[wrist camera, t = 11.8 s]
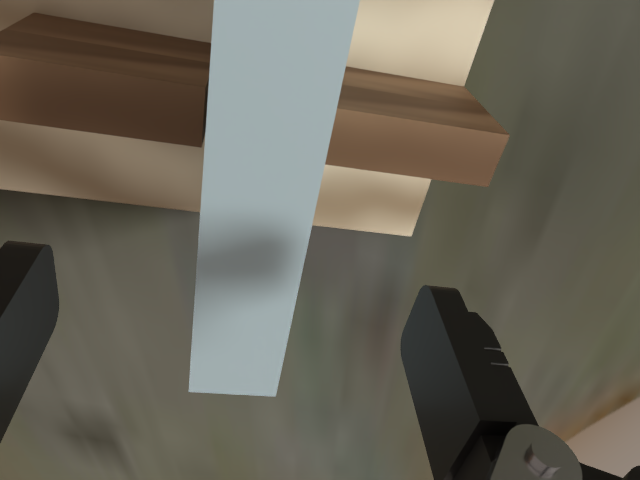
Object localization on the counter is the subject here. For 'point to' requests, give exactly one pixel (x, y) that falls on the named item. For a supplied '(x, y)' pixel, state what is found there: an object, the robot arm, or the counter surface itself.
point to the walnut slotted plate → (192, 96)
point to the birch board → (187, 161)
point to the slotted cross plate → (262, 180)
